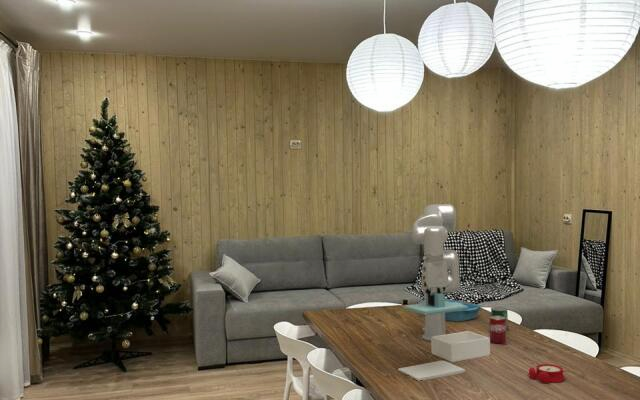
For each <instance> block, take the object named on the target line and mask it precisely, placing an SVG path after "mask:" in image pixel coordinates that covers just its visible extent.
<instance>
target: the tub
mask: <svg viewBox="0 0 640 400" xmlns="http://www.w3.org/2000/svg"><path fill="white" fill-rule="evenodd" d="M445 334H446V333H445ZM430 342H431V343H430V344H431V347H430V348H431V355H435V356H436V357H439V358H441V359H442V360H443V359H444V360H445V361H447V362H449V363H454V362H460V361H465V360H466V361H467V360H470V359H476V358H480V357H481V358H482V357H486V356H490V355H491V343H490V337H488V336H485V335H482V334H479V333H476V332H473V331H470V330H465V331H460V332H454V333H453V332H452V333H447V334H446V335H440V336H434V337H431V341H430Z"/></svg>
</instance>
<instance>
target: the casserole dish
mask: <svg viewBox="0 0 640 400" xmlns="http://www.w3.org/2000/svg"><path fill="white" fill-rule="evenodd" d="M445 301H448V302H458V303H462V304H463V305H466V306H468V308H464V309H463V310H462V311H454V312H447V313H445V321H449V322H456V323H457V322H464V321H469V320H473V319H476V318H477V317H478V315H479V312H480V310H481V305H479V304H476V303H471V302H465V301H460V300H455V299H448V298H445ZM422 303H425V301H424V300H422V301H420V302H419V303H418V304H422Z"/></svg>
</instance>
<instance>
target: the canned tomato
mask: <svg viewBox="0 0 640 400" xmlns="http://www.w3.org/2000/svg"><path fill="white" fill-rule="evenodd" d="M508 314H509V313H508V308H506V307H502V306H493V307H490V317H492V316H502V317H505V318H506V333H507V332H509V321H508V319H509V318H508Z"/></svg>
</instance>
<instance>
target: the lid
mask: <svg viewBox="0 0 640 400" xmlns="http://www.w3.org/2000/svg"><path fill="white" fill-rule="evenodd" d="M433 295H434V306H432V305H429V304H428V295H427V294H426V303H422V304H419V303H416V304H407V305H403V308H404V309H407V310H408V311H410V312H413V313H416V314H420V315H424V316H425V315H432V314H440V313H447V312H454V311H462V310H463V309H464V308H468V306H466V305H463V304H462V303H458V302H448V301H445V299H446V298H445V294H444V293H443V294H441V293H436V292H433Z"/></svg>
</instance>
